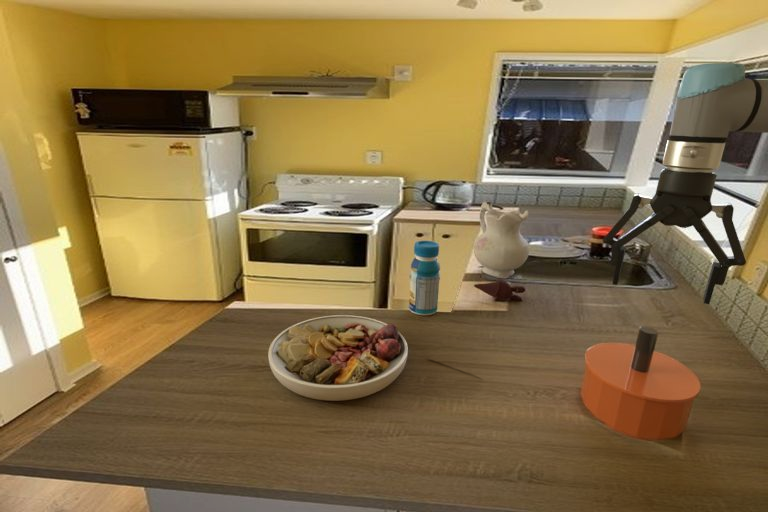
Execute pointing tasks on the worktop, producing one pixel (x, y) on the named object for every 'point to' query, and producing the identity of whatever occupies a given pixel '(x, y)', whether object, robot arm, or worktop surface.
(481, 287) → the icecream
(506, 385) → the worktop surface
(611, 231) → the robot arm
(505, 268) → the ceramic pitcher
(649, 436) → the pot
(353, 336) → the bowl
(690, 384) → the pot lid
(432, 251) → the beverage bottle
